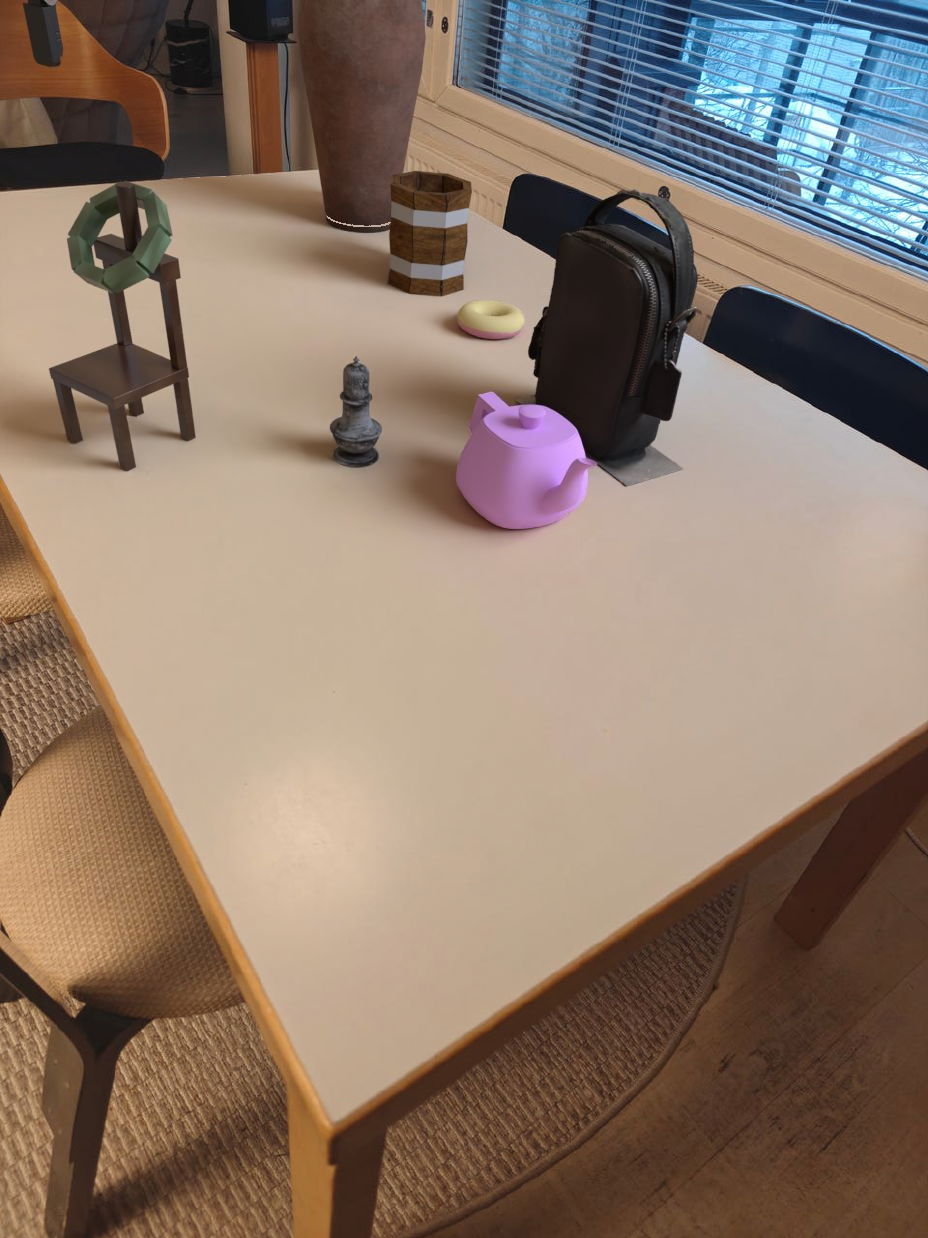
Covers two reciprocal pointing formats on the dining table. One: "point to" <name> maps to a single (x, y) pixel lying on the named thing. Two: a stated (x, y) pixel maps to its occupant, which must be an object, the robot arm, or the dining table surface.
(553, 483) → the teapot
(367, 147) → the vase
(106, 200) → the ring
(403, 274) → the wooden barrel
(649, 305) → the shoulder bag
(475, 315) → the donut
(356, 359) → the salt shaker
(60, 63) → the robot arm
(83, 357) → the chair
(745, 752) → the dining table surface
